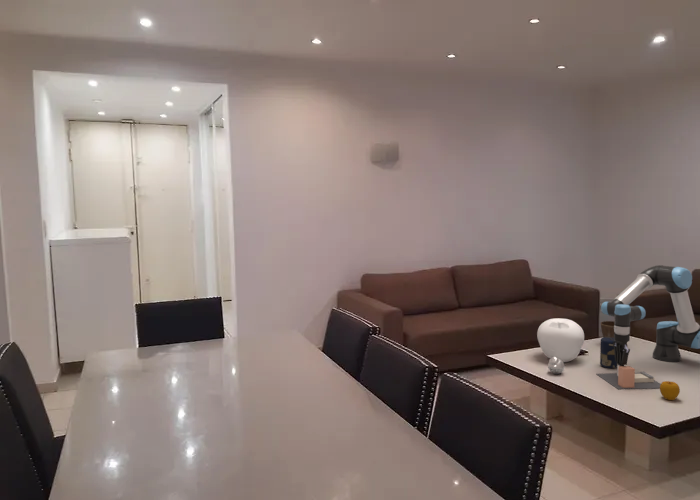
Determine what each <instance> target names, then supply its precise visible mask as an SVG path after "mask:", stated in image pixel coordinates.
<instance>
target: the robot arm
mask: <svg viewBox="0 0 700 500" xmlns="http://www.w3.org/2000/svg"><path fill="white" fill-rule="evenodd" d="M692 280H693V274H692V273H691V271H690V270H689V269H688V268H685V267H682V266H669V265H662V264H660V265H658V264H657V265H653V266H650V267H648V268H646V269H644V270H642V271H640V273H638V274H637V276H636V278H635V280H633V281H632V283H630V284H629V285H628V286H627V287H625V289H623V291H621V292H620V293H619V294H618V295H617V296H615V298H614V299H612V300H611V301H604V302H602V304H601V306H600V310H601V313H602V314H603V315H605V316H609V317H614V321H615V323H614V332H615V333H614V340H615V341H616V343H613V346H614V353H615V361H617V364H618V366H617V367H616V369H617V371H616V373H617V376H618V369H619V366H628V361H629V360H628V359H629V354H630V351H631V349H630V348H628V342H630V339H631V338H630V334H631V322H634V321H639V320H643V319H644V318H645V317H646V312H647V311H646V309H645V308H644V307H643V306H640V305H634V306H633V305H630V304H631V303H632V302H634V301H635V300H636V299H637V298H638V297H639V296H640V295H642V294H643V292H645V291H646V290H647V289H650V288H652V287H653V286H663V287H664V288H665V290H666V292H667V293H669V294H670V297H671V301H672V305H673V308H674V311H675V312H674V313H675V316H676V320H677V321H672V320H669V321H667V320H666V321H659V322H658V323H657V325H656V342H655V344H656V345H655V347H654V349H653V351H652V358H653V359H656V360H659V361H662V362H669V363H670V362H671V363H674V362H680V361H681V359H682V355H681V353H680V349H679V346H683V347H688V348H691V349H697V350H698V349H700V324H699V322H696V318H695V315H694V311H693V308H692V305H691V301H690V296H689V291H688V290H689V289H690V288H691V286H692V283H693V281H692Z"/></svg>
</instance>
